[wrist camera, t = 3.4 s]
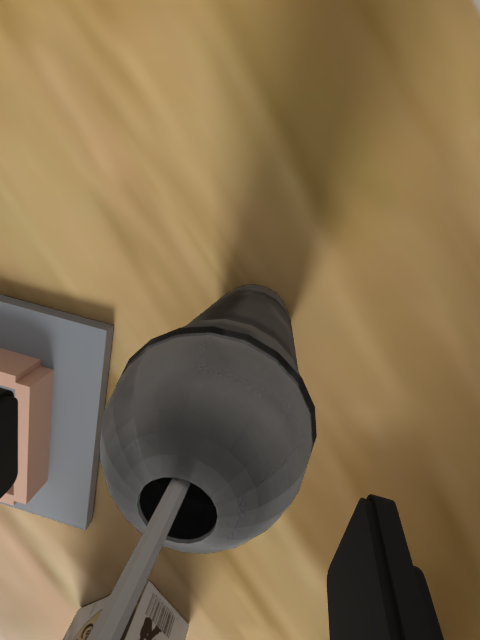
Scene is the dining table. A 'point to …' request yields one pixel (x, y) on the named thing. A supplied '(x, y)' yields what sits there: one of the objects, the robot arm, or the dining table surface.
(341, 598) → the robot arm
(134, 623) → the coffee box
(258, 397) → the beverage cup
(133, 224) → the dining table surface
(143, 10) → the dining table surface
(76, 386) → the collar stand
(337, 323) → the dining table surface
